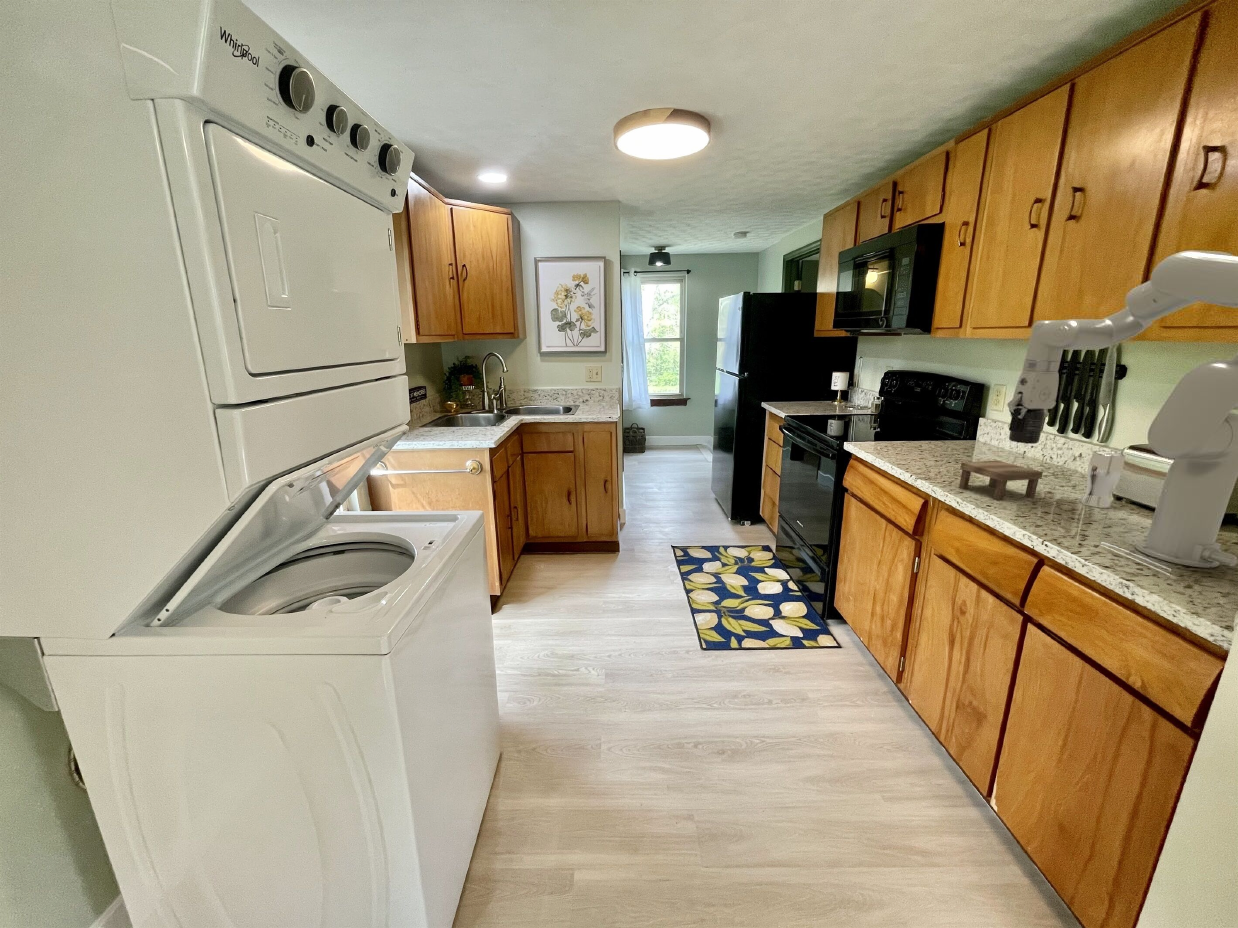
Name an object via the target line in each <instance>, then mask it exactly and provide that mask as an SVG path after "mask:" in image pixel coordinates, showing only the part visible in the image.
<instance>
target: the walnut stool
mask: <svg viewBox="0 0 1238 928" xmlns="http://www.w3.org/2000/svg"><path fill="white" fill-rule="evenodd" d="M960 470H961V474H960V480H959V486H958V489H959V488H960V489H963V490H965V489H967V490H968V488H969V482H970V478H971V473H974V474H977V475H981V476H984V477H988V478H989V481H988V486H990V487H994V488H995V491H994V495H993V500H996V501H999V502H1000V501H1004V497H1005V493H1006V488H1007V486H1008V485H1007V483H1008V482H1011V481H1027V485H1026V488H1025V489H1026V490H1025V494H1024V497H1025V498H1028V499H1035V496H1036V491H1037V488H1038V484H1039V480H1041V479H1042V477H1043V475H1044V474H1043V471H1040V470H1036V469H1032V468H1029V467H1026V466H1021V465H1017V464H1014V463H1013V464H1012V463H1009V462H1004V461H1001V460H982V461H981V460H979V461H964V462H961V463H960Z"/></svg>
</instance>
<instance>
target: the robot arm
mask: <svg viewBox="0 0 1238 928" xmlns="http://www.w3.org/2000/svg"><path fill="white" fill-rule="evenodd" d="M1199 302H1201V303H1206V304H1211V305H1217V306H1223V307H1226V308H1237V309H1238V256H1236V255H1234V254H1232V253H1229V252H1225V251H1213V250H1212V251H1211V250H1196V249H1195V250H1193V249H1192V250H1191V249H1190V250H1184V251H1179V252H1177V253H1173V254H1171V255H1170V256H1167V257H1166V258H1164V259H1163V260H1161V261H1160V262H1159V263H1158V264H1157V265H1156V266H1155V268H1154V269H1153V270H1152V273H1151V274H1150V280H1148V281H1146V282H1144V283H1142V284H1140V285H1138V286H1136V287H1134V288H1131V290H1130V291H1128V292H1127V294H1126V297H1125V306H1126V307H1125V308H1124V309H1121V310H1120V311H1118V312H1116V313H1113V314H1112V315H1109V316H1106V317H1105V318H1101V319H1095V318H1094V319H1091V318H1082V319H1081V318H1072V319H1063V320H1061V319H1060V320H1057V319H1056V320H1054V319H1052V320H1050V319H1049V320H1046V319H1045V320H1043V319H1042V320H1037V321H1035V322H1034V323H1033V325H1032V327H1031V333H1030V336H1029V340H1028V345H1027V349H1026V353H1025V358H1024V363H1023V367H1022V370H1021V373H1020V376H1019V378H1018V380H1017V383H1016V386H1015V389H1014V393H1013V397H1012V399H1011V400H1009V401H1008V403H1007V407H1008V410H1009V411H1008V412H1009V413H1010V414H1009V415H1010V417H1011V419H1010V422H1009V426H1008V431H1009V432H1010V431H1014V432H1021V431H1022V427H1023V423H1024V419H1025V418H1023V416H1024V415H1025V413H1026V411H1027V410H1028V409H1042V410H1043V411H1044V412H1045V417H1044V422H1043V426H1042V431H1041V432H1043V430H1044V426H1045V423H1046V418H1048V417H1049V413H1050V412H1051V411H1052V409H1053V408H1054V407H1056V404H1057V402H1056V401H1057V396H1058V389H1059V380H1060V379H1059V377H1060V376H1059V369H1060V364H1061V360H1062V355H1063V352H1064V350H1065V351H1066V350H1068V351H1069V350H1071V351H1072V350H1075V351H1077V350H1082V351H1083V350H1085V351H1087V350H1089V351H1092V350H1093V351H1094V350H1101V349H1105V348H1109V347H1112V346H1114V345H1116V344H1119V343H1122V342H1124V341H1126V340H1129V339H1131V338H1134V337H1136V336H1138V335H1139V334H1141V333H1143V332H1144V331H1145V330H1146V329H1147V328H1149V327H1150V326H1151V325H1153V323H1154V322H1155V321H1156V320H1158V319H1159V320H1160V319H1161V318H1162V317H1165V316H1167V315H1171V314H1172V313H1174V312H1175V313H1176V312H1177V311H1180V310H1181V309H1184V308H1187V307H1188V306H1191V305H1194V304H1197V303H1199ZM1021 405H1023V407H1022V406H1021ZM1019 409H1020V410H1021V412H1020V411H1019ZM1232 410H1235V411H1236V410H1237V411H1238V351H1237V352H1236V354H1234V356H1233V357H1232V358H1231V359H1218V360H1217V359H1216V360H1211V361H1207V362H1203V363H1202V364H1199V365H1197V366H1195V367H1194V368H1192V369H1191V370H1189V371H1188V372H1187V373H1186V374H1185V375H1183V377H1182V378H1181V379H1180V380H1179V381H1178V382H1177V384H1176V385H1175V387H1174V388H1173V390H1172V391H1171V393H1170V394H1169V396H1168V397H1167V399H1166V400H1165V402H1164V403H1163V405H1162V406H1161V408H1160V410H1159V411H1158V413H1157V414H1156V416H1155V418H1154V419H1153V420H1152V422H1151V424H1150V426H1149V427H1148V431H1147V442H1148V445H1149V448H1151V450H1152V451H1153V452H1154V453H1156V454H1157V455H1159V456H1161V457H1164V458H1168V459H1174V460H1173V461H1172V463H1171V464H1170V466H1169V468H1168V470H1167V472H1166V475H1165V478H1164V481H1163V484H1162V488H1161V491H1160V494H1159V497H1158V501H1157V504H1156V507H1155V510H1154V514H1153V518H1152V521H1151V524H1150V527H1149V529H1148V530H1149V531H1148V533H1147V538H1144V539H1138V540H1136V541H1135V543H1134V548H1135V549H1136V550H1138V551H1139V552H1141V553H1143V554H1145V555H1148V556H1149V557H1153V558H1155V559H1158V560H1161V561H1165V562H1170V563H1173V564H1178V565H1182V566H1183V565H1184V566H1187V567H1193V568H1194V567H1196V568H1208V569H1209V568H1210V567H1211V568H1217V567H1218V566H1219V565H1220V564H1221V565H1225V566H1228V567H1234V566H1236V564H1237V563H1238V558H1237V555H1235V554H1231V553H1229V552H1224V551H1222V550H1221V546H1222V544H1221V543H1218V542H1216V540H1217V537H1218V533H1219V532H1220V529H1221V525H1222V521H1223V519H1224V516H1225V514H1226V510H1227V507H1228V504H1229V501H1230V498H1231V496H1232V493H1233V490H1234V487H1235V485H1236V483H1237V479H1238V413H1235V412H1232Z"/></svg>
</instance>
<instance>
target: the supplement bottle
mask: <svg viewBox="0 0 1238 928" xmlns="http://www.w3.org/2000/svg"><path fill="white" fill-rule="evenodd" d="M1021 406H1022V407H1023V405H1021ZM1019 411H1020V412H1021V410H1020V409H1019ZM1044 417H1045V412H1044V411H1043V410H1042V409H1028V410H1027V411H1026V413H1025V415H1024V416H1023V418H1025V419H1024V423H1023V427H1022V431H1021V432H1014V431H1010V430H1009V436H1008V440H1009V441H1011V442H1015V443H1020V444H1021V443H1022V444H1038V443H1039V442H1040V438H1041V434H1042V432H1043V431H1042V426H1043V422H1044Z"/></svg>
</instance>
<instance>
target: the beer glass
mask: <svg viewBox="0 0 1238 928" xmlns="http://www.w3.org/2000/svg"><path fill="white" fill-rule="evenodd" d="M1125 460H1126V455H1125V454H1123V453H1121V452H1120V453H1119V452H1113V451H1105V450H1104V451H1103V450H1094V451H1092V455H1091V457H1090V459H1089V463H1088V467H1087V471H1086V472H1087V473H1086V490H1085V494H1084V495H1083V497H1082V498H1081V502H1080V503H1082V504H1083V505H1086V506H1088V507H1089V506H1090V507H1092V508H1093V507H1094V508H1099V509H1108V508H1109V509H1110V508H1111V504H1112V503H1111V498H1112V494H1113V492H1114V490H1115V487H1116V486H1117V484H1118V482H1119V480H1120V478H1121V476H1122V473H1123V470H1124V466H1125Z"/></svg>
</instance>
